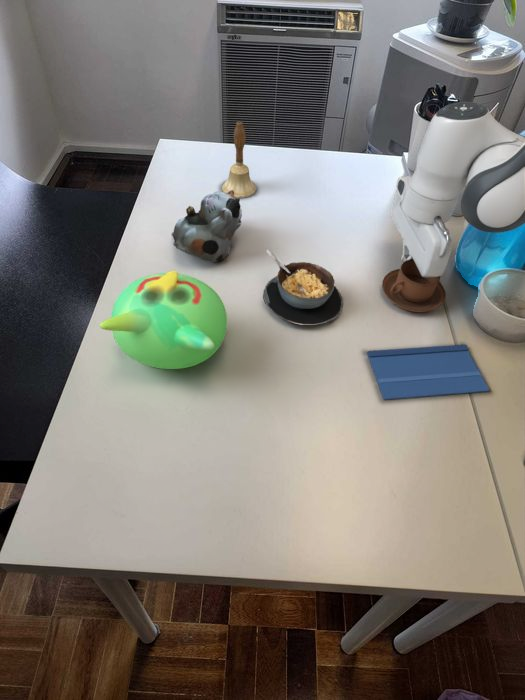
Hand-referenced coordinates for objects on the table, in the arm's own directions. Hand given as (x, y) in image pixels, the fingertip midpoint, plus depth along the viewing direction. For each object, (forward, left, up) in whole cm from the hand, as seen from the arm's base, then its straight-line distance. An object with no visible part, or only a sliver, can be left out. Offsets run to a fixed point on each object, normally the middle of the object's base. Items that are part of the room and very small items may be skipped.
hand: (406, 264), depth 93 cm
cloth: (+4, +24, -3) cm, 25 cm away
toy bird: (+46, +16, -3) cm, 49 cm away
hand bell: (+30, -35, -3) cm, 46 cm away
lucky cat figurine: (+39, -13, -3) cm, 41 cm away
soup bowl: (+22, +5, -3) cm, 23 cm away
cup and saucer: (0, +6, -3) cm, 7 cm away
